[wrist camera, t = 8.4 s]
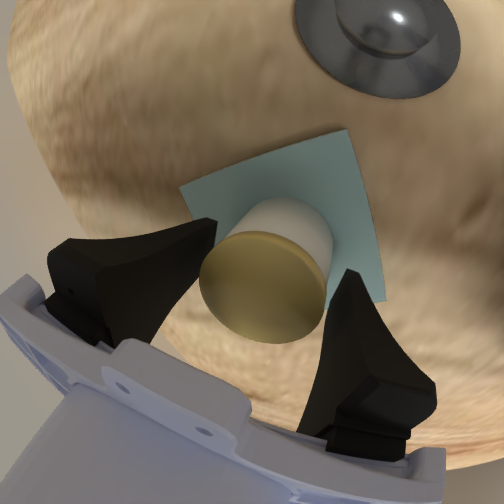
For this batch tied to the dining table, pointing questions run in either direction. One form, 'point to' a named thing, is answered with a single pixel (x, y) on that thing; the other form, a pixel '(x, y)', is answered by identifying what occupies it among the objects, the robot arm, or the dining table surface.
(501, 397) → the dining table surface
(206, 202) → the coaster
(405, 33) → the grey round lid
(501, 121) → the dining table surface
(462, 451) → the dining table surface
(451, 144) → the dining table surface
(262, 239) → the can
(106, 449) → the robot arm
